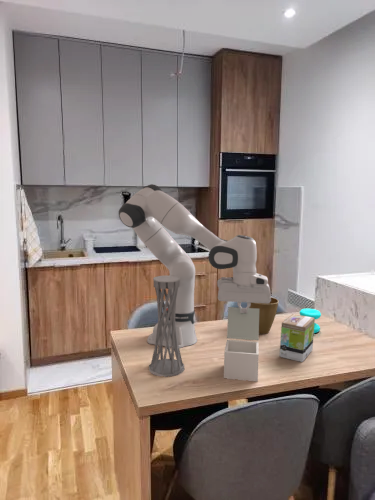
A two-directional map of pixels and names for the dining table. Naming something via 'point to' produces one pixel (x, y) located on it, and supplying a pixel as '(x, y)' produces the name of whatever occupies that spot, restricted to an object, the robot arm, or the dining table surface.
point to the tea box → (297, 337)
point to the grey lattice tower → (165, 365)
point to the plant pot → (266, 314)
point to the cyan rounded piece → (314, 314)
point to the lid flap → (243, 324)
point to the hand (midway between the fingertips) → (243, 313)
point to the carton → (241, 360)
